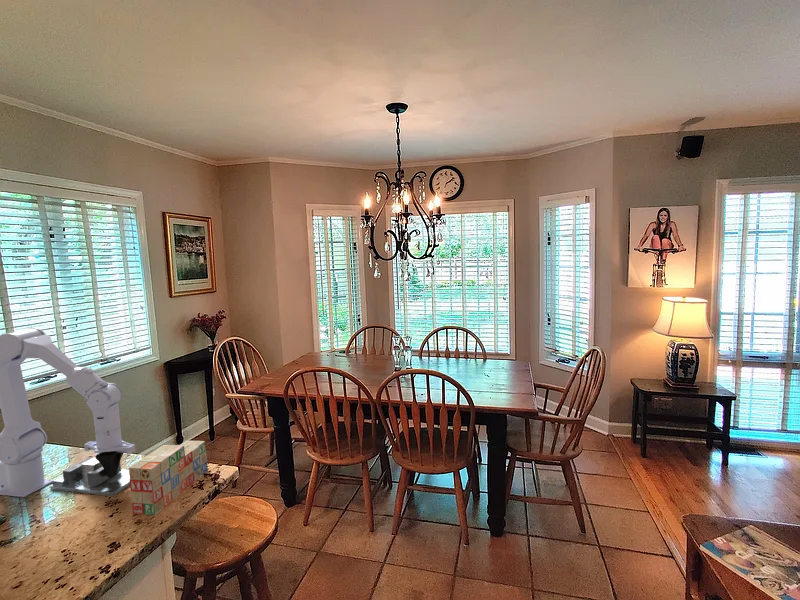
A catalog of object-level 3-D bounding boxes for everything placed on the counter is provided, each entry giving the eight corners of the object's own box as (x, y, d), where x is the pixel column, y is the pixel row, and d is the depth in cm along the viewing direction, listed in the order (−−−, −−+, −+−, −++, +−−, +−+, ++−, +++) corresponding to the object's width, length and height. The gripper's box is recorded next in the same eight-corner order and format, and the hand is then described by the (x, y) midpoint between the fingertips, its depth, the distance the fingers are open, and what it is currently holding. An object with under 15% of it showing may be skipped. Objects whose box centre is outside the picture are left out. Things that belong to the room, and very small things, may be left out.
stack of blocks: (188, 469, 122) (185, 429, 121) (208, 470, 121) (205, 430, 120) (132, 514, 101) (127, 466, 100) (155, 516, 100) (151, 468, 99)
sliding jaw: (88, 485, 112) (87, 473, 112) (113, 470, 120) (112, 458, 119) (96, 486, 112) (94, 473, 111) (121, 471, 119) (120, 459, 119)
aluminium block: (83, 481, 115) (81, 464, 114) (96, 473, 119) (94, 457, 118) (95, 482, 114) (93, 465, 113) (107, 474, 118) (106, 458, 117)
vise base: (50, 489, 113) (48, 472, 112) (87, 469, 123) (86, 453, 123) (113, 496, 109) (111, 479, 108) (145, 474, 120) (144, 458, 119)
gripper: (72, 433, 111) (77, 481, 113) (118, 437, 108) (122, 485, 110) (95, 423, 118) (100, 468, 119) (139, 426, 115) (143, 472, 117)
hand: (112, 475), depth 115 cm, fingers closed
